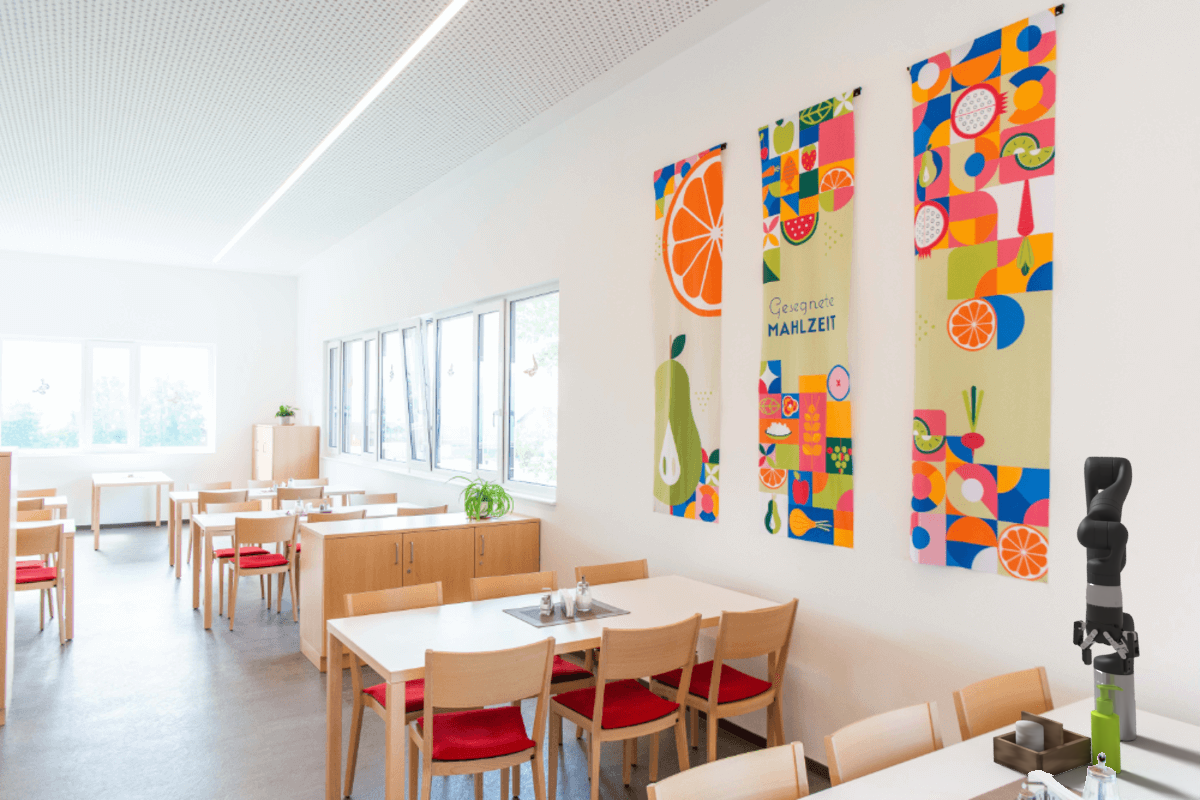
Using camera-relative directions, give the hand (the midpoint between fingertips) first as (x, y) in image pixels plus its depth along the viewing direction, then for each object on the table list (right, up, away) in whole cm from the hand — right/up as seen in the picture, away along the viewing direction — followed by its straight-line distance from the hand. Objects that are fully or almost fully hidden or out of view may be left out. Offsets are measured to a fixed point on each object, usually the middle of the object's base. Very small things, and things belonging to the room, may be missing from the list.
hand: (1105, 669), depth 188 cm
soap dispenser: (0, -24, -1) cm, 24 cm away
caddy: (-14, -24, +3) cm, 28 cm away
